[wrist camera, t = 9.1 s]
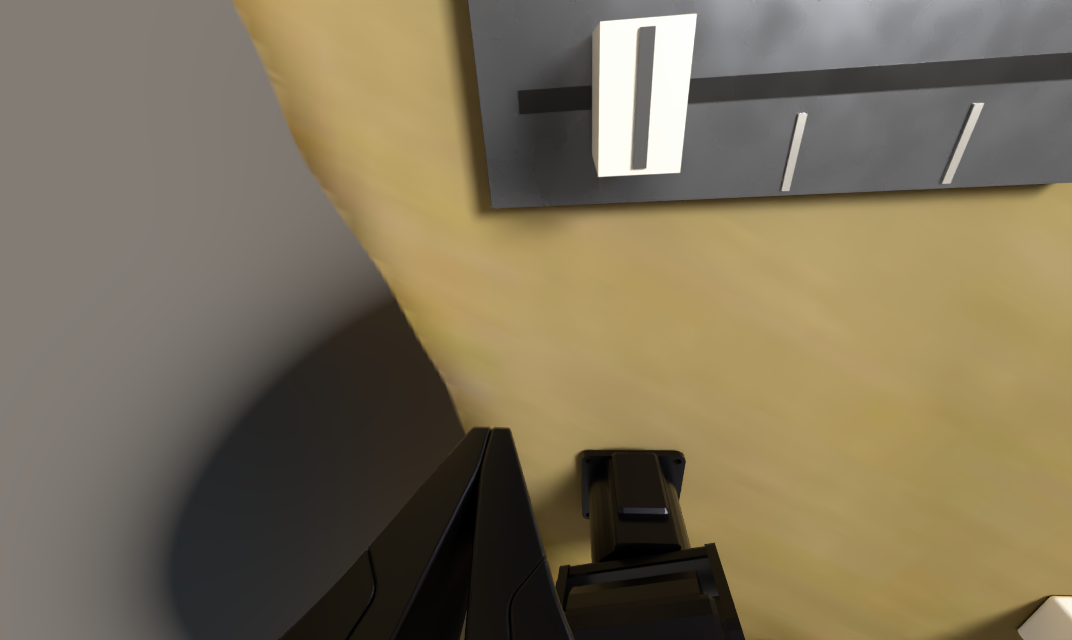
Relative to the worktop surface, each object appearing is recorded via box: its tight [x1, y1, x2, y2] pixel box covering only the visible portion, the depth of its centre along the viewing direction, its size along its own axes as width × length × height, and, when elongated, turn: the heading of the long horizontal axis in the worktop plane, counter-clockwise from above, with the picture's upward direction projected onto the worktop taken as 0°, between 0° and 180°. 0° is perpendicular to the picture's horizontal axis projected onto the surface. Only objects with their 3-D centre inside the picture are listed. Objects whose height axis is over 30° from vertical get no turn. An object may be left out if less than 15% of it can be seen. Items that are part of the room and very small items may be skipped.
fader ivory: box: [592, 14, 697, 177], centre depth 14 cm, size 4×2×4 cm, turn 4°
